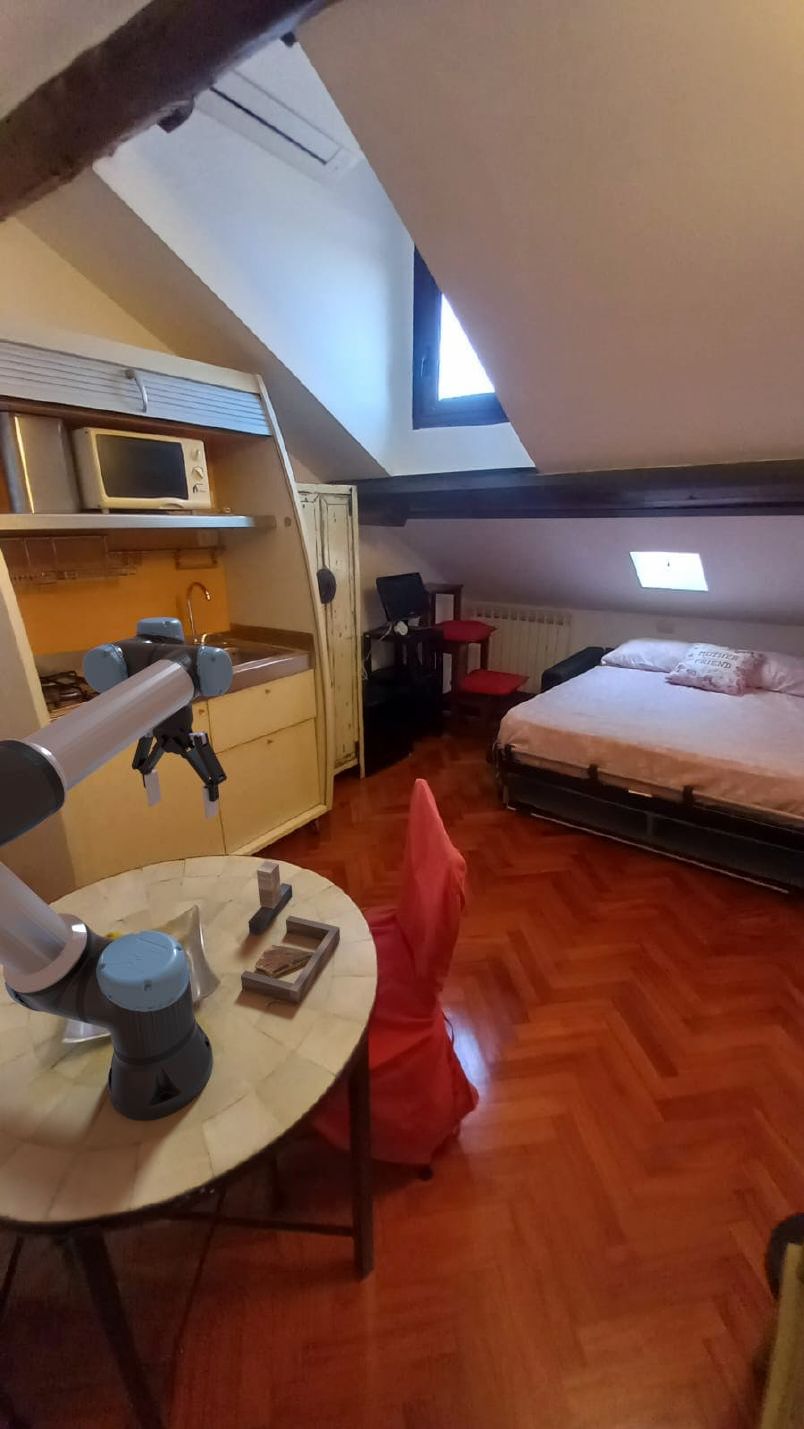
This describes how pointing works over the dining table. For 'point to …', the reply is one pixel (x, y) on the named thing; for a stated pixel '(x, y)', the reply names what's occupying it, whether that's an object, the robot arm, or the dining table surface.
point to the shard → (282, 959)
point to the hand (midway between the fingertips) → (183, 809)
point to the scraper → (269, 896)
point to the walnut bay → (310, 971)
